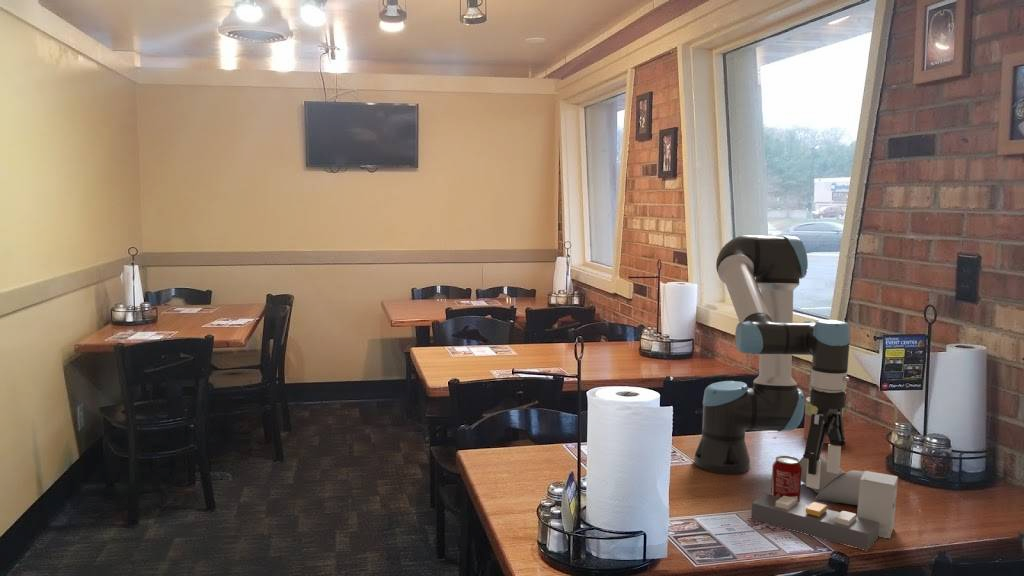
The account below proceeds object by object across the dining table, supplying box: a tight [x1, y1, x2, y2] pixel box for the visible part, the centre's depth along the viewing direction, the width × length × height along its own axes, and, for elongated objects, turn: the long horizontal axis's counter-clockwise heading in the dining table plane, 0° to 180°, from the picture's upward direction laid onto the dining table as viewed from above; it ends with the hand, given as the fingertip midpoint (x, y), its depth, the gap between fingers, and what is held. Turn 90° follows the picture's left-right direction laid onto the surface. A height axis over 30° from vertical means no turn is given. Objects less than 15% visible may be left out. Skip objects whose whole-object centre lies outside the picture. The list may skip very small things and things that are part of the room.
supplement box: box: [856, 470, 899, 540], centre depth 185 cm, size 7×7×13 cm
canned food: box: [802, 396, 844, 444], centre depth 256 cm, size 11×11×12 cm
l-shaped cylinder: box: [799, 455, 864, 507], centre depth 207 cm, size 18×11×20 cm
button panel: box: [750, 493, 879, 551], centre depth 186 cm, size 26×8×5 cm, turn 50°
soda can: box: [770, 455, 802, 502], centre depth 199 cm, size 7×7×12 cm
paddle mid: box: [806, 501, 828, 517], centre depth 185 cm, size 3×5×1 cm, turn 141°
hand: (823, 479), depth 187 cm, fingers open, 13 cm apart
